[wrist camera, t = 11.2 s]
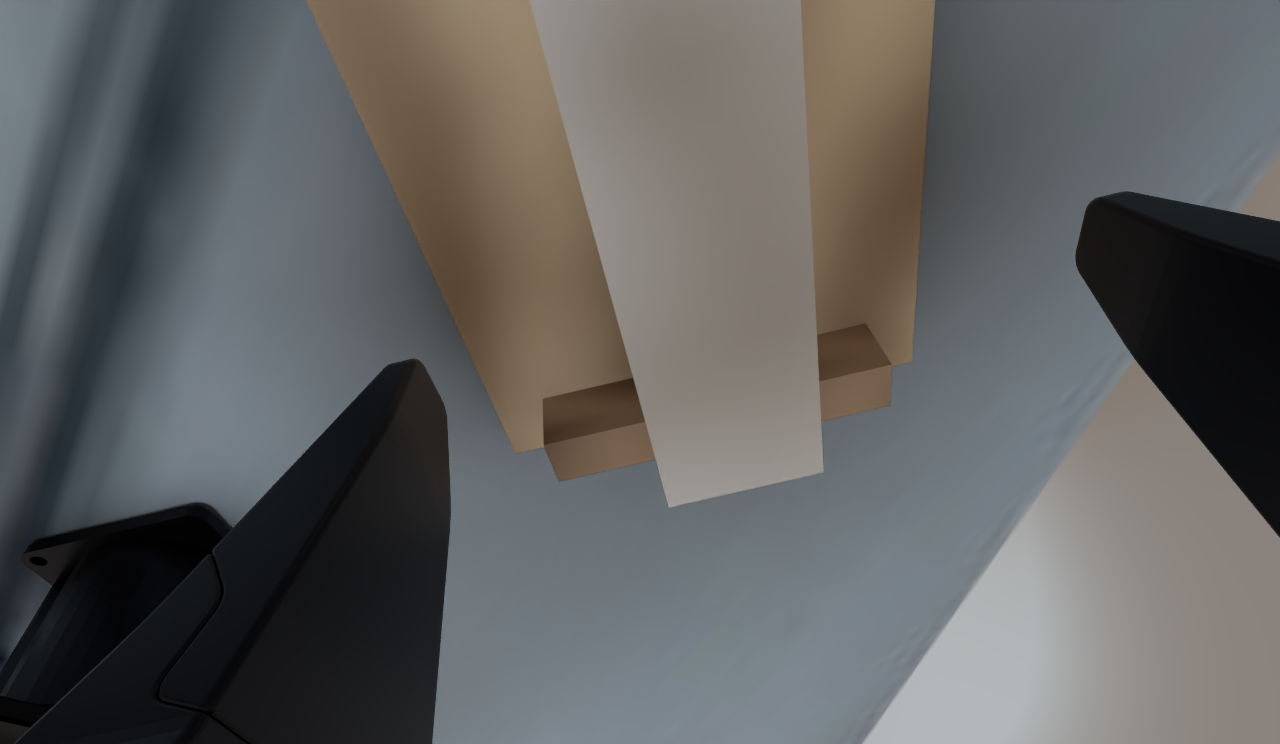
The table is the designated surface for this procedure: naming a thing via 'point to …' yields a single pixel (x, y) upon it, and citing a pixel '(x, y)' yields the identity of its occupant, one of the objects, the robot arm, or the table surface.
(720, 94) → the white rectangular block
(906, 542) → the table surface
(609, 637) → the table surface
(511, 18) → the wooden tray
